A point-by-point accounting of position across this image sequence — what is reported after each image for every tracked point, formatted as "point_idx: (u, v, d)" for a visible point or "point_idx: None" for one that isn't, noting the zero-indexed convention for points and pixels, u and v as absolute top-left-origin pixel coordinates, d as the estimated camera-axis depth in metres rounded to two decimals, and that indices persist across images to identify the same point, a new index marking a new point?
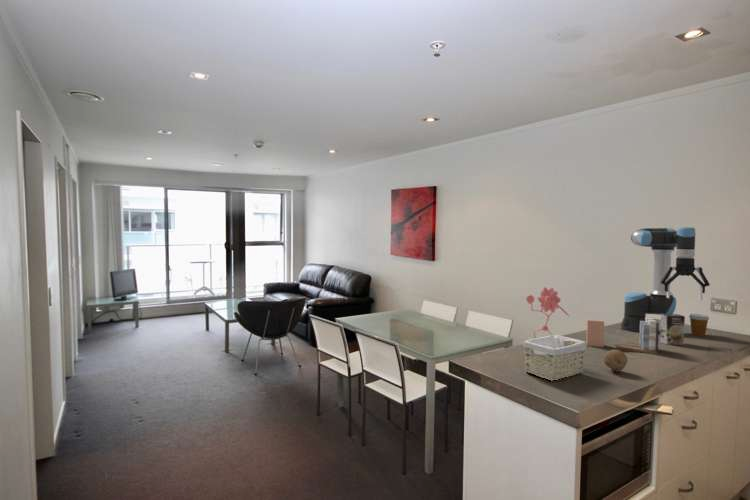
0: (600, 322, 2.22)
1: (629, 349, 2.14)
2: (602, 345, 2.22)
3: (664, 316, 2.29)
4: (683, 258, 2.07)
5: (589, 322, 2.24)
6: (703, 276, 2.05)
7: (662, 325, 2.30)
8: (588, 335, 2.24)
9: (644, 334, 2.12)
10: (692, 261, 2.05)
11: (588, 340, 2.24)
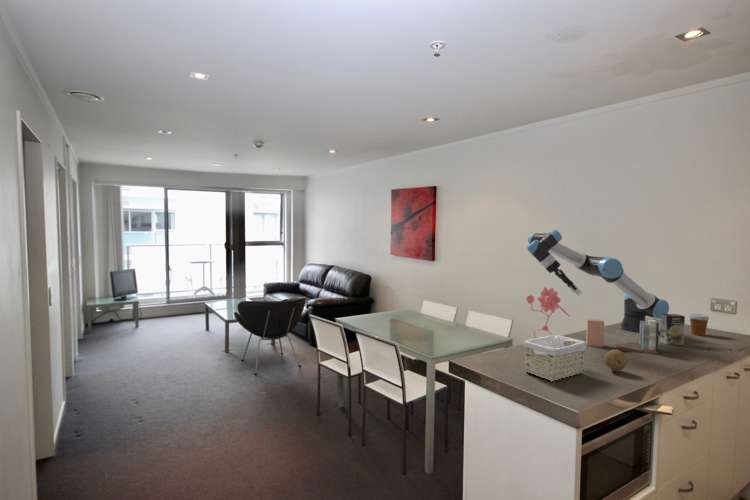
0: (600, 322, 2.22)
1: (629, 349, 2.14)
2: (602, 345, 2.22)
3: (664, 316, 2.29)
4: None
5: (589, 322, 2.24)
6: (562, 278, 2.21)
7: (662, 325, 2.30)
8: (588, 335, 2.24)
9: (644, 334, 2.12)
10: (549, 270, 2.28)
11: (588, 340, 2.24)
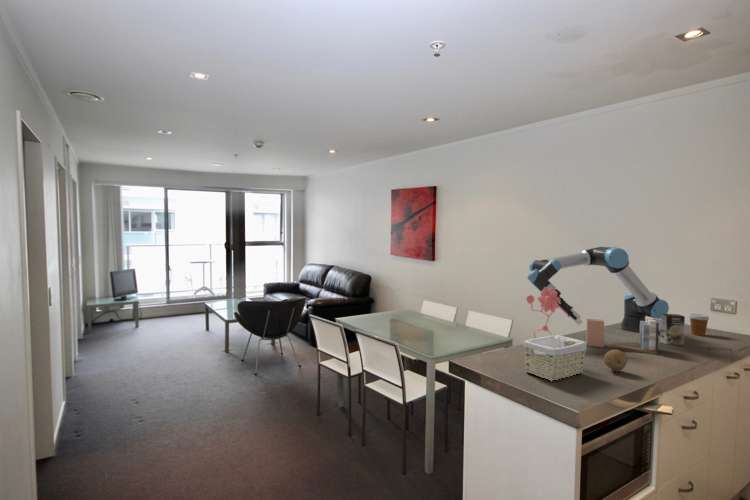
0: (600, 322, 2.22)
1: (629, 349, 2.14)
2: (602, 345, 2.22)
3: (664, 316, 2.29)
4: None
5: (589, 322, 2.24)
6: (562, 308, 2.24)
7: (662, 325, 2.30)
8: (588, 335, 2.24)
9: (644, 334, 2.12)
10: None
11: (588, 340, 2.24)
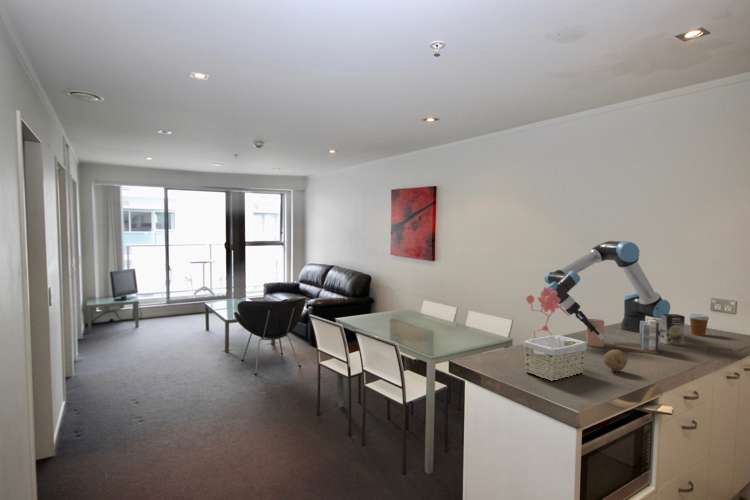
0: (600, 322, 2.22)
1: (629, 349, 2.14)
2: (602, 345, 2.22)
3: (664, 316, 2.29)
4: None
5: None
6: None
7: (662, 325, 2.30)
8: (588, 335, 2.24)
9: (644, 334, 2.12)
10: (568, 312, 2.28)
11: (588, 340, 2.24)
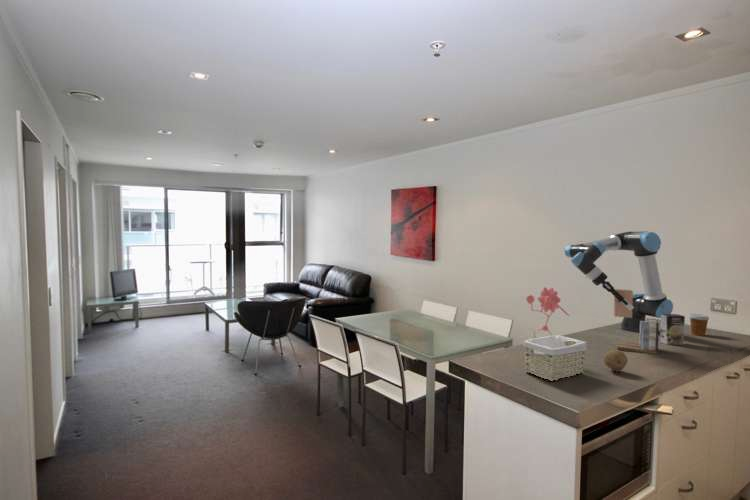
0: (628, 292, 2.15)
1: (629, 349, 2.14)
2: (630, 316, 2.15)
3: (664, 316, 2.29)
4: None
5: None
6: (612, 293, 2.16)
7: (662, 325, 2.30)
8: (616, 306, 2.18)
9: (644, 334, 2.12)
10: (595, 282, 2.22)
11: (616, 311, 2.18)
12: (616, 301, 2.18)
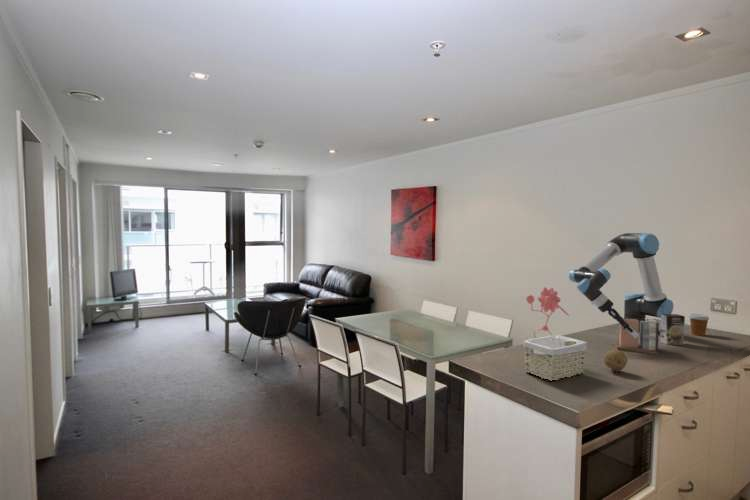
0: (634, 322, 2.15)
1: (629, 349, 2.14)
2: (636, 345, 2.15)
3: (664, 316, 2.29)
4: None
5: None
6: (617, 320, 2.15)
7: (662, 325, 2.30)
8: (622, 335, 2.18)
9: (644, 334, 2.12)
10: (601, 309, 2.21)
11: (622, 340, 2.18)
12: (622, 331, 2.18)
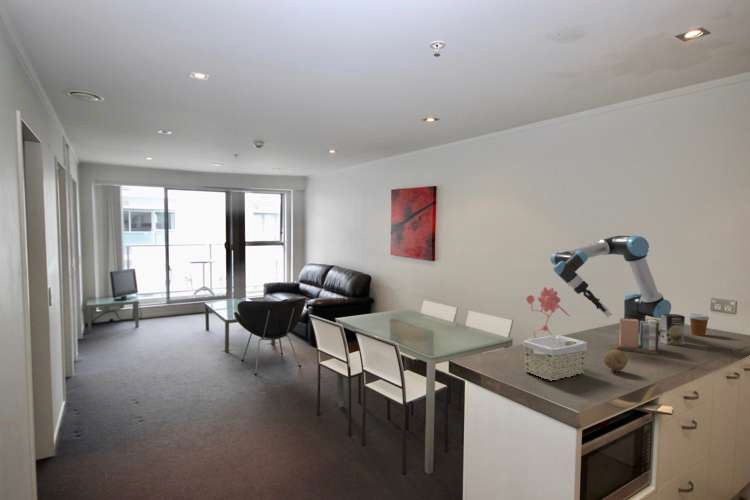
0: (634, 322, 2.15)
1: (629, 349, 2.14)
2: (636, 345, 2.15)
3: (664, 316, 2.29)
4: None
5: (623, 322, 2.17)
6: None
7: (662, 325, 2.30)
8: (622, 335, 2.18)
9: (644, 334, 2.12)
10: (576, 291, 2.25)
11: (622, 340, 2.18)
12: (622, 331, 2.18)
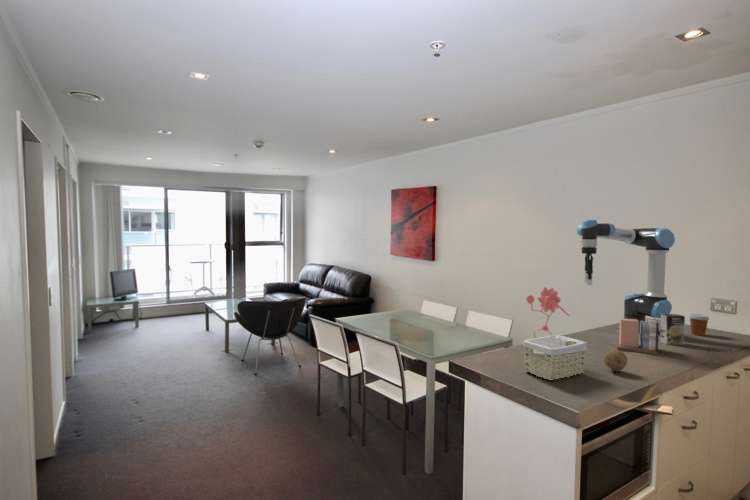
0: (634, 322, 2.15)
1: (629, 349, 2.14)
2: (636, 345, 2.15)
3: (664, 316, 2.29)
4: None
5: (623, 322, 2.17)
6: (587, 263, 2.28)
7: (662, 325, 2.30)
8: (622, 335, 2.18)
9: (644, 334, 2.12)
10: (583, 250, 2.33)
11: (622, 340, 2.18)
12: (622, 331, 2.18)
